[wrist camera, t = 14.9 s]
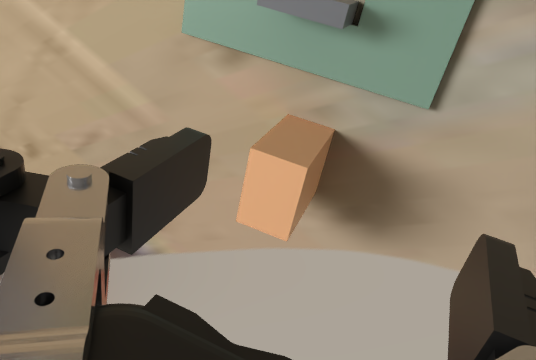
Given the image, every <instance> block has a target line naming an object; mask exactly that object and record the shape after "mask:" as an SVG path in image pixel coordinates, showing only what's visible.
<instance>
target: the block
mask: <svg viewBox="0 0 536 360" xmlns="http://www.w3.org/2000/svg"><path fill="white" fill-rule="evenodd" d="M334 131H335V129H332V128H329V127H326V126H323V125H320V124H317V123H313V122H310V121H307V120H304V119H301V118H298V117H295V116H292V115H289V114H288V115H287V116H286V117H284V118H283V119H282V120H281V121H280V122H279V123H278V124H277V125H276V126H274V127H273V128H272V129H271V130H270V131H269V132H268V133H267V134H266V135H264V136H263V137H262V138H261V139H260V140H259V141H258V142H257V143H255V144H254V145H253V146H252V147H251V148H250V153H249V158H248V163H247V168H246V173H245V178H244V183H243V188H242V193H241V198H240V203H239V208H238V213H237V218H236V221H237V222H239V223H242V224H244V225H247V226H249V227H252V228H254V229H257V230H259V231H262V232H264V233H267V234H269V235H272V236H274V237H277V238H279V239H282V240H284V241H288V239H289V237H290V236H291V234H292V232H293V230H294V229H295V227H296V225H297V224H298V222H299V220H300V218H301V217H302V215H303V213H304V212H305V210H306V208H307V206H308V205H309V203H310V201H311V200H312V198H313V196H314V195H315V193H316V190H317V187H318V183H319V180H320V177H321V173H322V170H323V167H324V163H325V160H326V157H327V154H328V150H329V147H330V144H331V140H332V137H333V134H334Z"/></svg>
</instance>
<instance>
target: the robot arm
mask: <svg viewBox="0 0 536 360" xmlns="http://www.w3.org/2000/svg"><path fill="white" fill-rule="evenodd" d="M210 150H211V137H210V136H209V135H207V134H205V133H202V132H199V131H196V130H193V129H191V128H184V129H182V130H181V131H179V132H177V133H175V134H174V135H172V136H170V137H162V138H158V139H153V140H150V141H148V142H146V143H145V144H143V145H141V146H140V147H139V148H138V147H137V148H135V149H134V150H132V151H130V153H126V154H124V155H123V156H121V157H119V158H117V159H115V160H113V161H112V162H110V163H108V164H106V165H104V166H102V167H100V168H99V167H96V166H92V165H84V164H77V165H69V166H65V167H62V168H59V169H57V170H55V171H54V172H52V173H51V175H50V176H47V175H42V174H36V173H30V172H25V168H24V160H23V157H22V156H21V155H20V154H19V153H17V152H15V151H11V150H7V149H0V275H1V274H3V273H4V275H3V278H2V280H1V283H0V360H292V359H290V358H287V357H285V356H282V355H277V354H273V353H269V352H265V351H260V350H256V349H252V348H248V347H244V346H239V345H236V344H233V343H232V342H230V341H229V340H227V339H226V338H225V337H224V336H223V335H221V334H220V333H219V332H218V331H217V330H215V329H214V328H213V327H212V326H210V325H209V324H208V323H207V322H206V321H204V320H203V319H201V317H199V316H198V315H197V314H196V313H194V312H192V311H190V310H188V309H186V308H184V307H181V306H179V305H177V304H175V303H173V302H171V301H169V300H167V299H165V298H163V297H161V296H159V295H155V296H154V297H153V298H152V299H151V300H150V301H149V302H148V303H147V304H146V305H145V306H142V305H135V304H107V292H108V280H109V269H110V252H111V251H113V250H114V249H115V248H118V249H120V250H122V251H124V252H126V253H129V254H131V255H132V254H133V253H134V252H136V251H137V250H138V249H139V248H140V247H141V246H143V245H144V244H145V243H146V242H147V241H148V240H150V239H151V238H152V237H153V236H154V235H155V234H157V233H158V232H159V231H160V230H161V229H162V228H163V227H165V226H166V225H167V224H168V223H169V222H170V221H172V220H173V219H174V218H175V217H176V216H177V215H179V214H180V213H181V212H182V211H183V210H184V209H186V208H187V207H188V206H189V205H190V204H191V203H193V202H194V201H195V200H196V199H197V198H198V197H199V196H200V195H201V193H202V192H203V190H204V188H205V185H206V181H207V174H208V166H209V158H210ZM448 344H449V345H448V360H536V278H535V277H534V275H533V274H532V273H531V271H529V270H527V269H524V268H521V267H519V264H518V259H517V254H516V248H515V245H514V244H511V243H508V242H505V241H503V240H500V239H497V238H494V237H491V236H489V235H486V234H482V235H481V236H480V237H479V239H478V240H477V242H476V244H475V246H474V247H473V249H472V251H471V253H470V255H469V257H468V258H467V260H466V262H465V264H464V266H463V268H462V269H461V271H460V273H459V275H458V277H457V279H456V281H455V283H454V286H453V289H452V293H451V297H450V317H449V343H448Z"/></svg>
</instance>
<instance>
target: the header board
mask: <svg viewBox="0 0 536 360" xmlns="http://www.w3.org/2000/svg"><path fill="white" fill-rule="evenodd" d="M474 1H475V0H366V1H365V4H364V7H363V11H362V14H361V17H360V21H359V24H358V25H355V24H352V23H353V20H354V16H355V13H356V10H357V6H358V3H359V1H355V0H185V4H184V14H183V24H182V33H185V34H188V35H191V36H194V37H198V38H201V39H204V40H207V41H210V42H214V43H217V44H220V45H223V46H227V47H230V48H233V49H236V50H239V51H243V52H246V53H249V54H252V55H255V56H259V57H262V58H265V59H268V60H271V61H275V62H278V63H281V64H284V65H288V66H291V67H294V68H297V69H300V70H304V71H307V72H310V73H313V74H316V75H320V76H323V77H326V78H329V79H332V80H336V81H339V82H342V83H345V84H348V85H352V86H355V87H358V88H361V89H365V90H368V91H371V92H374V93H377V94H381V95H384V96H387V97H390V98H393V99H397V100H400V101H403V102H406V103H409V104H413V105H416V106H419V107H422V108H425V109H429V107H430V105H431V102H432V100H433V98H434V95H435V93H436V90H437V88H438V86H439V83H440V81H441V79H442V76H443V74H444V72H445V69H446V67H447V64H448V62H449V60H450V57H451V55H452V53H453V50H454V48H455V46H456V43H457V41H458V38H459V36H460V34H461V31H462V29H463V27H464V24H465V22H466V19H467V17H468V15H469V12H470V10H471V8H472V5H473V3H474Z"/></svg>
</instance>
